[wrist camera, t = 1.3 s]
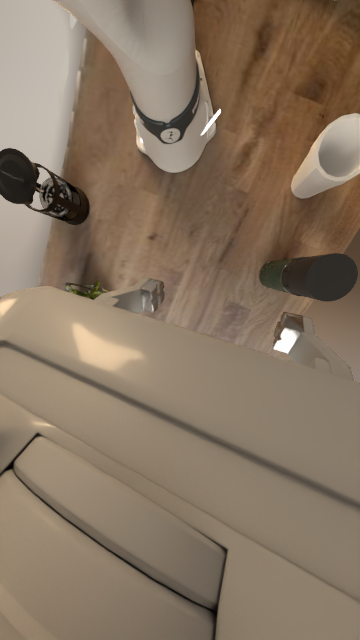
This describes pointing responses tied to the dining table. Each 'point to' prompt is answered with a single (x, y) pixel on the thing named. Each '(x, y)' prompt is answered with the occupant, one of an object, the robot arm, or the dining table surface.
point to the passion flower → (91, 294)
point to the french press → (39, 188)
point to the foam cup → (330, 158)
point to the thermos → (274, 274)
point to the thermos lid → (320, 276)
